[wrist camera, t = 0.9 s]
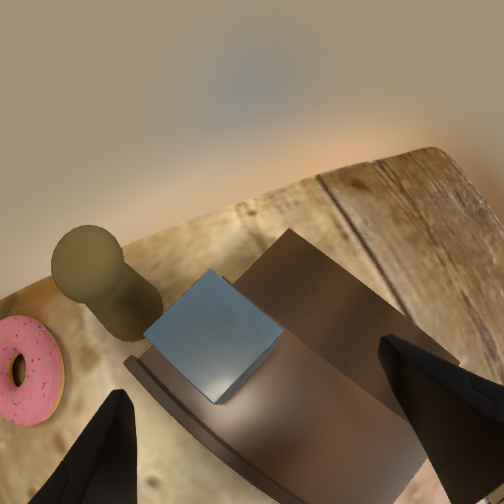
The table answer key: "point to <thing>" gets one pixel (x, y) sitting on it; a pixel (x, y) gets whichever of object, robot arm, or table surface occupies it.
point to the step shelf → (307, 388)
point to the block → (214, 337)
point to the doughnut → (29, 371)
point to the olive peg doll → (105, 282)
